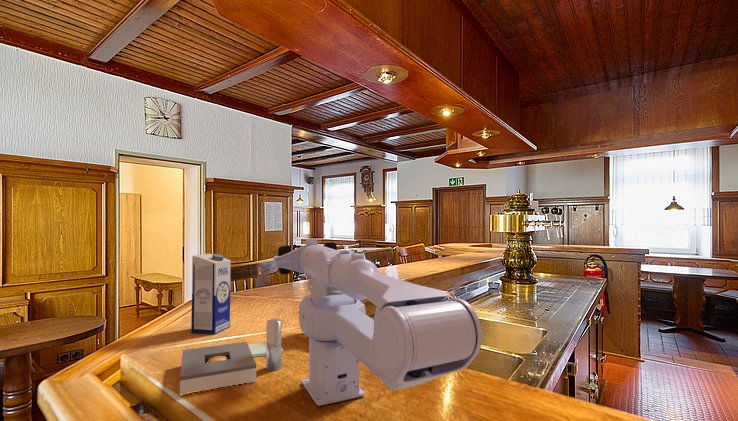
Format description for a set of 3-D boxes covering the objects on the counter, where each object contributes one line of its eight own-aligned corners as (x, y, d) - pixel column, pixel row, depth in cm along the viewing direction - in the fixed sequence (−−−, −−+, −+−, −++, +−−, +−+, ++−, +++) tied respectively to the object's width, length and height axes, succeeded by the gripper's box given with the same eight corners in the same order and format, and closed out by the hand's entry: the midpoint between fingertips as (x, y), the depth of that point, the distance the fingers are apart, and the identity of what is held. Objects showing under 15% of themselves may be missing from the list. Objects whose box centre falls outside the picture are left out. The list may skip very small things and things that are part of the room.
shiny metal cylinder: (282, 369, 70) (282, 321, 70) (267, 371, 69) (268, 323, 69) (279, 364, 72) (279, 318, 73) (265, 366, 71) (265, 320, 71)
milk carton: (208, 325, 100) (209, 252, 101) (230, 326, 99) (231, 252, 99) (190, 333, 93) (191, 254, 94) (214, 334, 92) (215, 255, 93)
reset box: (256, 381, 64) (256, 364, 64) (179, 395, 59) (179, 377, 59) (246, 355, 77) (246, 341, 77) (182, 365, 72) (182, 350, 72)
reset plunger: (227, 365, 67) (227, 360, 67) (208, 368, 66) (208, 363, 66) (226, 359, 70) (226, 355, 70) (207, 362, 69) (207, 357, 69)
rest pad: (283, 352, 79) (283, 349, 79) (249, 357, 76) (249, 355, 76) (276, 343, 85) (277, 340, 85) (245, 347, 82) (245, 344, 82)
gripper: (354, 237, 71) (330, 234, 83) (279, 243, 64) (265, 238, 76) (355, 273, 71) (331, 265, 83) (281, 282, 64) (266, 272, 77)
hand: (299, 254), depth 80 cm, fingers open, 7 cm apart
